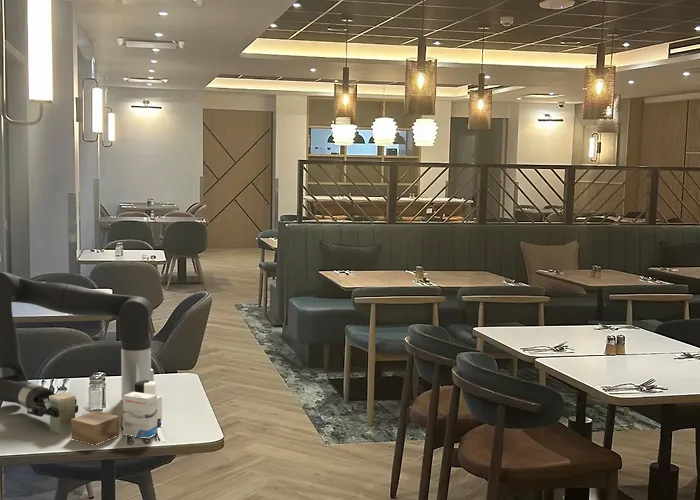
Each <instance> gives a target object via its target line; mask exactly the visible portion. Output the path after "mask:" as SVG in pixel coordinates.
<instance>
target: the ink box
mask: <svg viewBox="0 0 700 500" xmlns="http://www.w3.org/2000/svg"><path fill="white" fill-rule="evenodd" d="M157 396H158V395H157V394H156V395H153V394H146V393H139V392H131V393H128V394H126V395H124V396H123V401H122V428H123V429H122V431H123V433H122V434H123V436H124V435H126V434H128V435H132V436H136V437H150V436H152V435H154V434H156V433H157V434H158V421H157ZM136 437H135V438H136Z"/></svg>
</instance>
